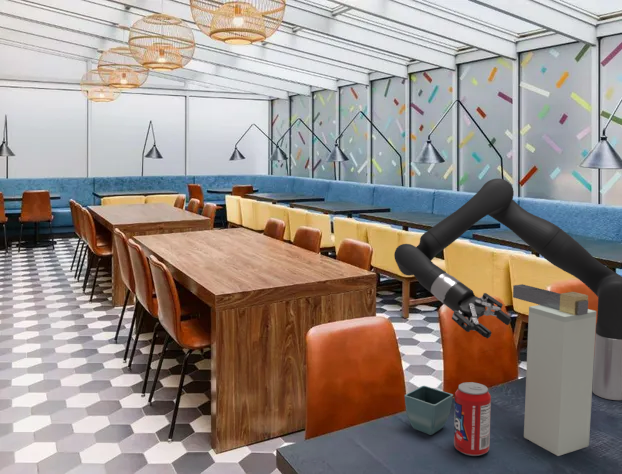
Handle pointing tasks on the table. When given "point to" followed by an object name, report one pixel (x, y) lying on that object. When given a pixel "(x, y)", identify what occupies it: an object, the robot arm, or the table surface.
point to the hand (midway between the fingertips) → (499, 328)
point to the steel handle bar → (553, 299)
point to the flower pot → (428, 409)
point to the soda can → (472, 419)
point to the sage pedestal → (559, 379)
